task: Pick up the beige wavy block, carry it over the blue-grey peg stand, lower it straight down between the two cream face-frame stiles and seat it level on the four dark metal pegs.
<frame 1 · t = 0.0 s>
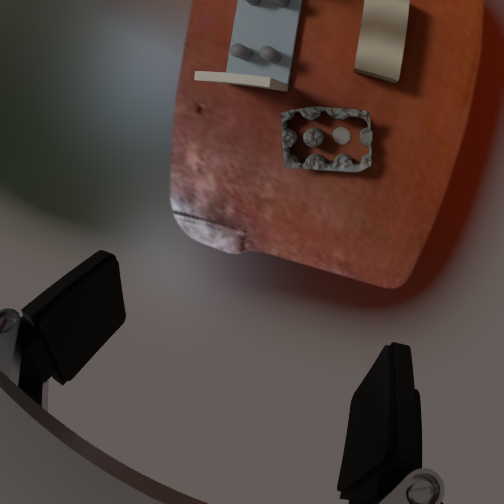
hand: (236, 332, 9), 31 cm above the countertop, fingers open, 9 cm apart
peg stand: (265, 28, 30), on the countertop
beige wavy block: (380, 35, 26), on the countertop
egg carton: (328, 137, 35), on the countertop
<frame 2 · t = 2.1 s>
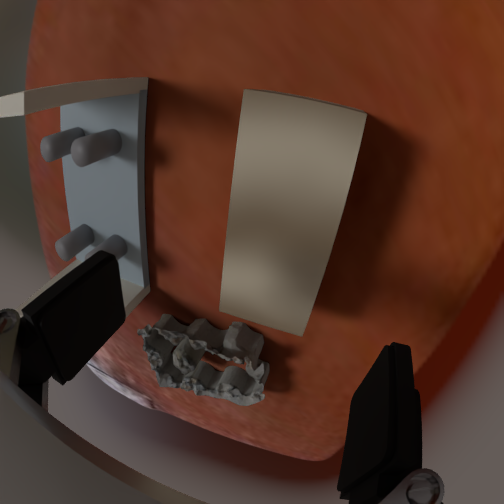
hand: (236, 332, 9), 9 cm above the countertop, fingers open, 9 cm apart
peg stand: (103, 188, 21), on the countertop
beige wavy block: (294, 201, 17), on the countertop
egg carton: (213, 344, 26), on the countertop
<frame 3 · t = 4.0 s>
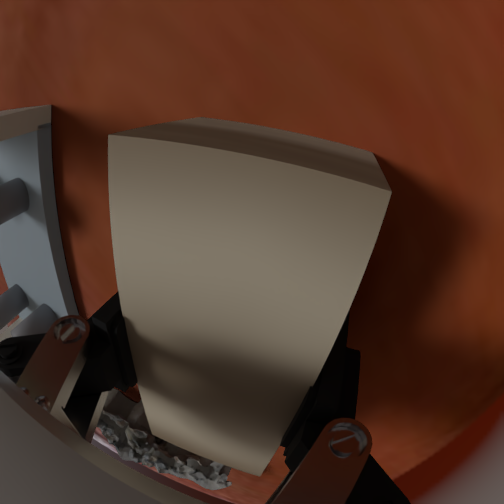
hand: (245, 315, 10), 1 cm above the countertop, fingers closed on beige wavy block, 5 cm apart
peg stand: (28, 247, 15), on the countertop
beige wavy block: (252, 301, 11), on the countertop, touching gripper
egg carton: (171, 422, 19), on the countertop
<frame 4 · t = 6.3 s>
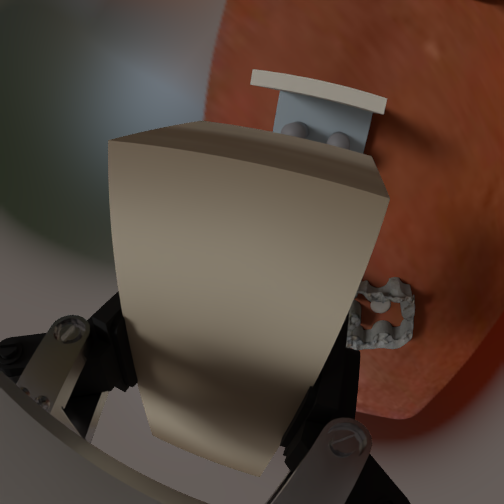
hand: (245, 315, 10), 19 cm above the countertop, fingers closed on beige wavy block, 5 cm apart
peg stand: (310, 177, 27), on the countertop
beige wavy block: (252, 304, 11), point 19 cm above the countertop, touching gripper
egg carton: (365, 305, 31), on the countertop
when the fingers open (6 cm above the countertop, at t = 8.7 s): beige wavy block stays where it is, resting on peg stand.
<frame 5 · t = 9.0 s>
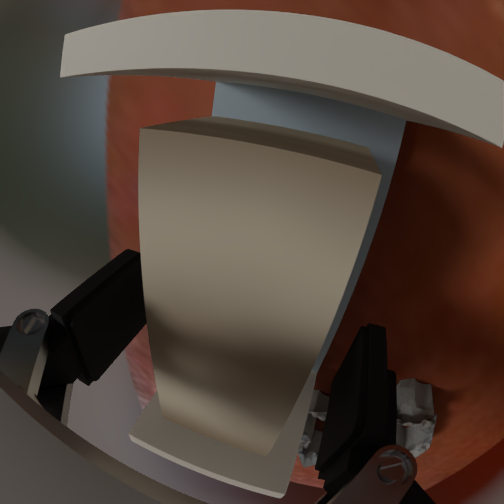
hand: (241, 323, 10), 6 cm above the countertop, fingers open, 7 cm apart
peg stand: (281, 245, 15), on the countertop
beige wavy block: (260, 286, 12), point 4 cm above the countertop, touching peg stand
egg carton: (365, 408, 19), on the countertop
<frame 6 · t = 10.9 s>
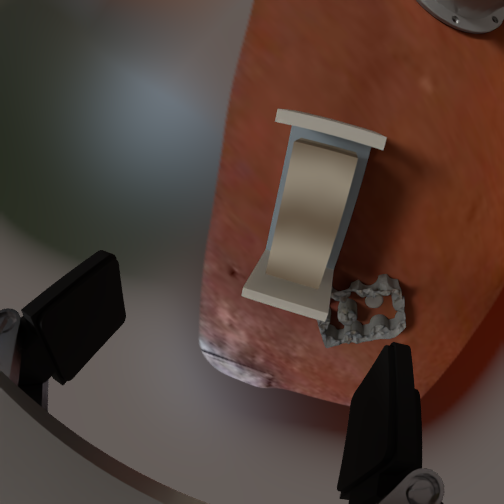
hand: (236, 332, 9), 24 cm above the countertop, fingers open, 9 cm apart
peg stand: (317, 196, 31), on the countertop
beige wavy block: (313, 206, 28), point 4 cm above the countertop, touching peg stand
egg carton: (361, 302, 35), on the countertop
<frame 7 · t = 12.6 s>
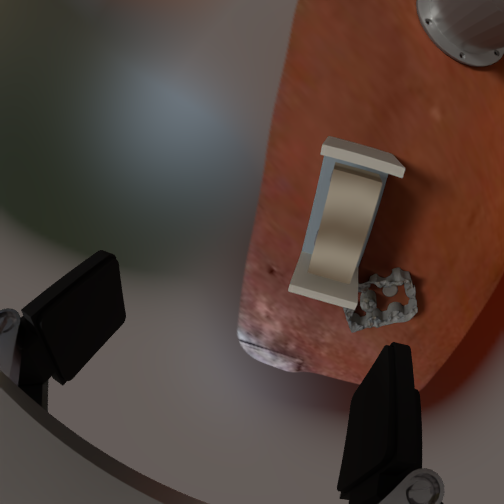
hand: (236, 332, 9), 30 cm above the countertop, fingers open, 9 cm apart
peg stand: (345, 207, 37), on the countertop
beige wavy block: (344, 217, 34), point 4 cm above the countertop, touching peg stand
egg carton: (379, 292, 41), on the countertop
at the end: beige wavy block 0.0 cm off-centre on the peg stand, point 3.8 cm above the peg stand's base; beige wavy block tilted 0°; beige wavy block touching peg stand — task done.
